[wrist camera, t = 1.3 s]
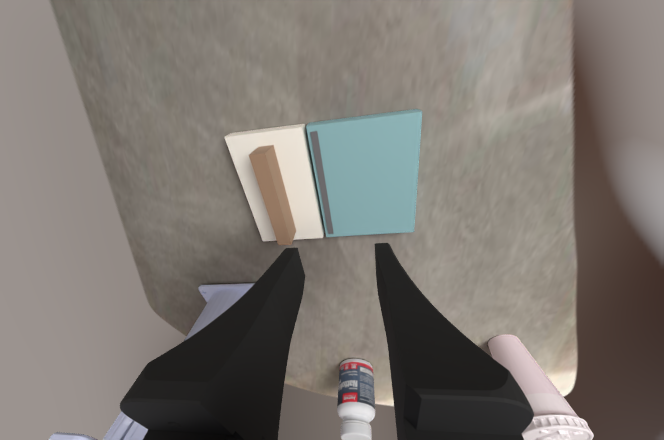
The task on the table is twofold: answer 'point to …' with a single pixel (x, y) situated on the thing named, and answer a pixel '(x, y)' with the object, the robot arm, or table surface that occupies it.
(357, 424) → the pill bottle
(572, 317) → the table surface
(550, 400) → the smoothie
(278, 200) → the cream block with bar
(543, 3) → the table surface
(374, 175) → the teal flat block
